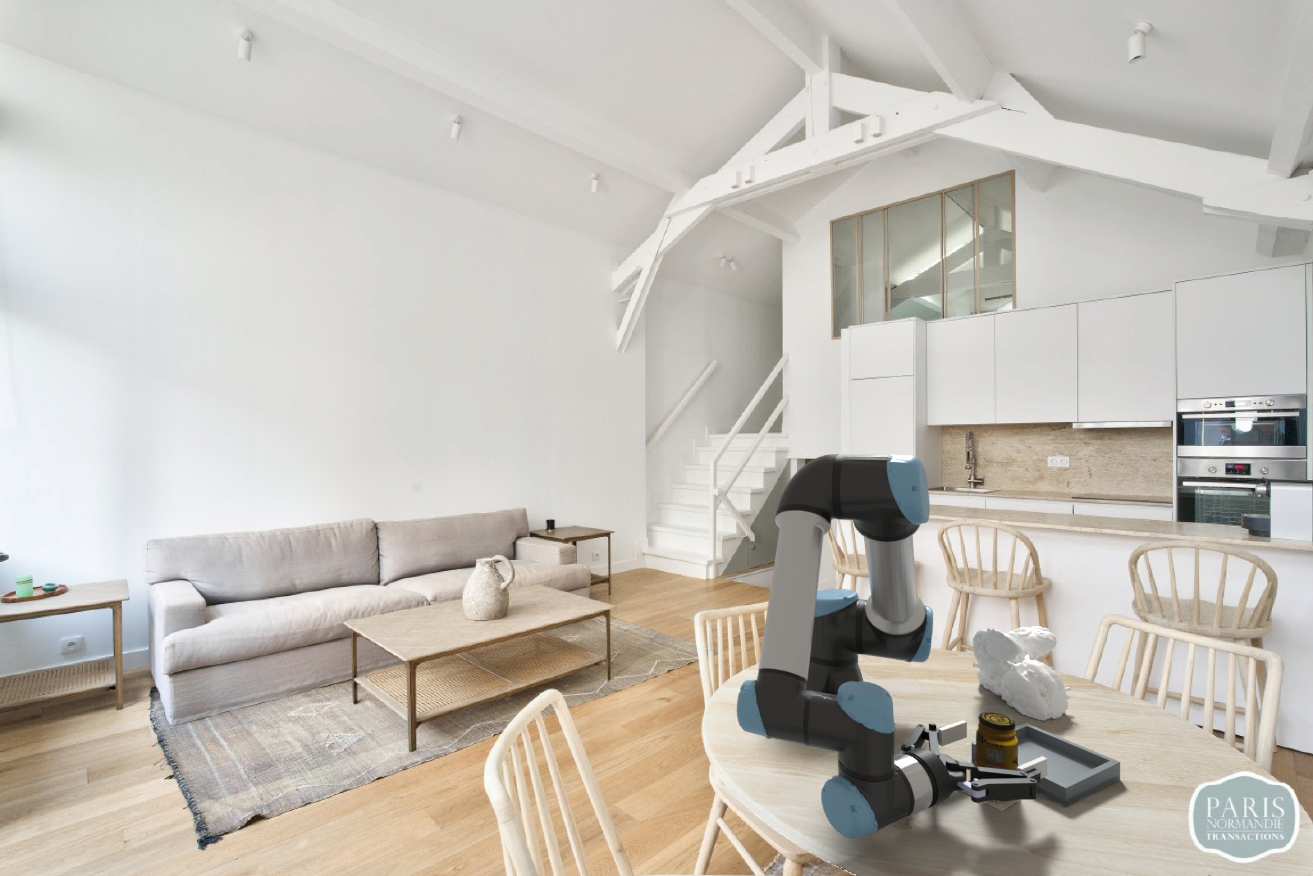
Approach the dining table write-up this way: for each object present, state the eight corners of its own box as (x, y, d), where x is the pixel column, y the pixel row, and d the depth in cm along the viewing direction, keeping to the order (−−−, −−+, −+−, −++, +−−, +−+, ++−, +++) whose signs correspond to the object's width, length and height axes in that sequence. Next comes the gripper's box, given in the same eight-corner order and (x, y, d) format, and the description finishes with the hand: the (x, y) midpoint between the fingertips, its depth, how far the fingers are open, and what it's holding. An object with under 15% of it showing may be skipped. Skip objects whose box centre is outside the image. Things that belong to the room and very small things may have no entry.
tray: (971, 759, 109) (971, 742, 109) (1025, 738, 117) (1025, 722, 117) (1065, 807, 95) (1065, 788, 95) (1120, 779, 103) (1120, 762, 103)
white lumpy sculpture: (1060, 691, 116) (981, 613, 132) (1005, 754, 126) (937, 674, 141) (1117, 679, 125) (1036, 606, 140) (1061, 739, 134) (991, 665, 149)
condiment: (1029, 794, 99) (1029, 720, 99) (1002, 812, 94) (1002, 735, 94) (984, 773, 105) (984, 704, 105) (957, 789, 100) (956, 717, 100)
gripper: (851, 765, 102) (936, 736, 111) (993, 857, 80) (1084, 810, 89) (851, 721, 102) (936, 695, 111) (993, 800, 79) (1084, 759, 89)
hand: (1002, 746), depth 100 cm, fingers open, 13 cm apart
